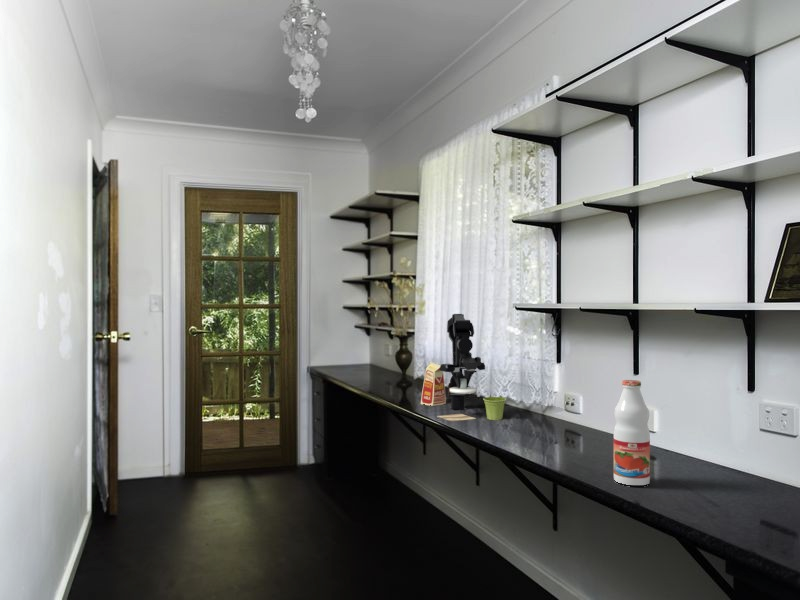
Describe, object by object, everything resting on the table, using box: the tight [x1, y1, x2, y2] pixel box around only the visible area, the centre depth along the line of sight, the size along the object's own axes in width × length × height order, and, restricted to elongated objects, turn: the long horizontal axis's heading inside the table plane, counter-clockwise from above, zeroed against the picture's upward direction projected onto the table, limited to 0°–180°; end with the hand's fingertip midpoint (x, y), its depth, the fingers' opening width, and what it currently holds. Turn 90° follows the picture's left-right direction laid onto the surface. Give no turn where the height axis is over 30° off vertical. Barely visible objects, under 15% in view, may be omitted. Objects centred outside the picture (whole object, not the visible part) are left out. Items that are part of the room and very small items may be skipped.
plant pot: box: [483, 396, 507, 421], centre depth 261 cm, size 9×9×9 cm
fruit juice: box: [613, 379, 651, 485], centre depth 174 cm, size 9×9×28 cm
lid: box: [450, 379, 477, 394], centre depth 263 cm, size 11×11×5 cm
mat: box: [436, 413, 477, 422], centre depth 264 cm, size 12×12×1 cm
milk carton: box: [420, 361, 447, 407], centre depth 299 cm, size 9×9×20 cm
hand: (462, 387), depth 263 cm, fingers closed on lid, 3 cm apart
